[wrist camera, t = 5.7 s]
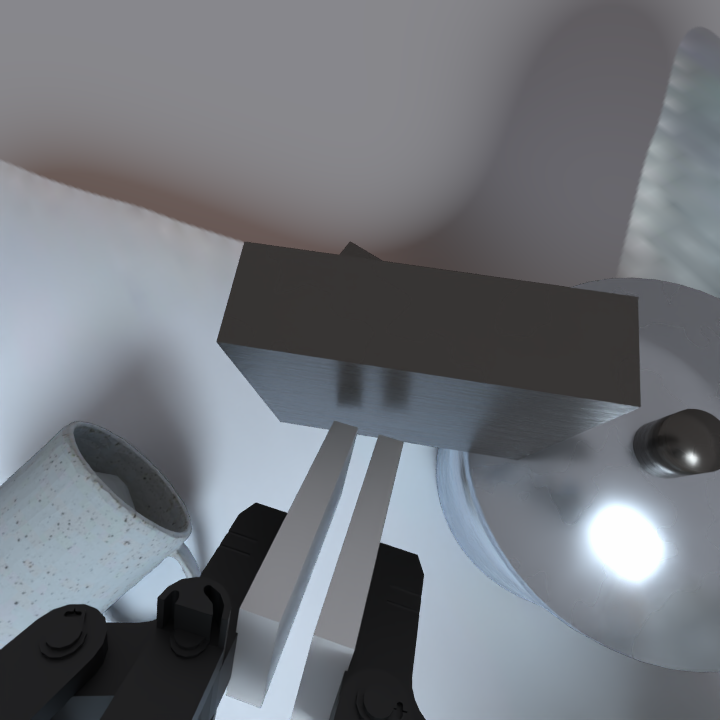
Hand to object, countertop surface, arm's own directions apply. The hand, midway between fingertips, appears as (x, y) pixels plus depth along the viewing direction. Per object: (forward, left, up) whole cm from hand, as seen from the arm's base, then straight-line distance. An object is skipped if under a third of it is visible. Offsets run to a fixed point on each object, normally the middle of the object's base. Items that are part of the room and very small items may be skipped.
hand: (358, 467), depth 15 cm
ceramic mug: (-9, -9, -13) cm, 18 cm away
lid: (+6, +5, -3) cm, 8 cm away
